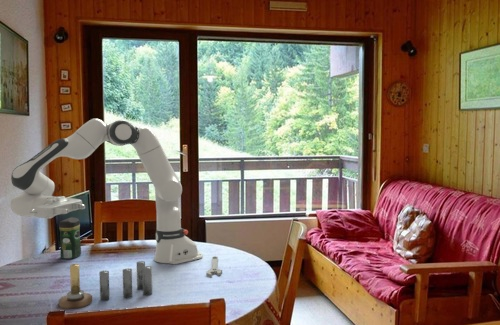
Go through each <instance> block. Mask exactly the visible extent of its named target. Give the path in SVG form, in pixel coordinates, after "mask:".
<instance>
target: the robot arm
mask: <svg viewBox="0 0 500 325" xmlns="http://www.w3.org/2000/svg"><path fill="white" fill-rule="evenodd" d="M105 142H107V143H109V144H111V145H113V146H117V147H118V146H119V147H123V146H126V145H130V146H132V147H133V148H134V150H135V152H136V154H137V156H138V157H139V159H140V161H141V163H142V166H143V168H144V170H145V171H146V173H147V176H148V177H149V179H150V181H151V183H152V185H153V187H154V193H155V210H156V212H155V213H156V228H155V241H156V246H155V247H156V248H155V254H154V256H153V260H154V262H156V263H159V264H160V263H161V264H170V265H171V264H172V265H178V264H182V263H188V262H192V261H196V260H200V259H203V254H202V252H201V251H199V250H198V247H197V244H196V243H195V241H193V240H192V239H190V237H188V236H186V235H188V234H189V231H188V229H185V228H182V220H181V219H182V217H181V215H182V214H181V212H182V211H181V204H180V197H181V196H182V193H183V186H182V184H181V181H180V179H179V177H178V175H177V173H176V172H175V170H174V168H173V167H172V164H171V163H170V161H169V159H168V157H167V155H166V152H165V151H164V149H163V147H162V145H161V142H160V141H159V139H158V138H157V136H156V134H155V133H154V132H153V130H152V129H151V128H150V127H148V126H139V127H137V126H135V125H134V124H132V122H130V121H127V120H125V119H119V120H115V121H113V122H111V123H109V124H108V123H105V121H103V120H102V119H99V118H90V120H88V121H86V122H85V123H84V124H83V125H81V126H80V127H79V128H78V129H77V130H75V131H74V132H73V133H72V134H71V135H69V136H68V137H66V138H58V139H56V140H54V141H53V142H51V143H50V144H48V145H47V146H46V147H44V148H43V149H42V150H41V151H39V152H38V153H37V154H35V155H34V156H33V157H31V158H30V159H28V160H27V161H25V162H23V163H21V164H20V165H18V166H16V167H15V168H14V169H13V170H12V172H11V175H10V176H11V177H10V178H11V179H10V180H11V184H12V186H13V187H15V188H17V189H19V190H21V191H23V192H21V193H20V194H18V195H16V196H13V197H12V198H11V200H10V205H9V206H10V209H11V211H12V212H13V213H14V214H15V215H17V216H20V217H26V218H27V217H28V218H34V217H35V218H37V219H49V220H50V219H52V218H54V217H55V216H58V215H67V214H69V213H70V212H73V211H74V212H75V211H77V210H85V209H86V204H83V200H82V199H79V198H72V197H66V196H64V195H60V196H54V193H55V189H56V185H55V182H54V181H53V180H52V179H50V178H49V177H48V176H47V175H45V174H44V173H42V172H41V170H42V169H43V168H45V167H46V166H47V165H49V164H50V163H51V162H52V161H54V160H55V159H57V158H60V157H66V158H70V159H73V160H85V159H87V158H88V157H90V156H92V154H93V153H94V152H95V151H96V150H97V149H98V148H99V146H100V145H102V144H103V143H105Z"/></svg>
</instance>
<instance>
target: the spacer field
mask: <svg viewBox="0 0 500 325" xmlns="http://www.w3.org/2000/svg"><path fill="white" fill-rule="evenodd" d="M152 273H153V272H152V266H149V265H147V266H146V261H142V260H141V261H140V260H139V261H137V262H136V289H137V290H142V293H143V294H142V295H143V296H151V295H153V280H152V278H153V277H152V276H153V274H152ZM98 274H99V300H100V301H102V302H106V301H109V300H110V298H111V297H110V271H109V270H101V271H99V273H98ZM122 297H123V299H131V298H132V297H133V270H132V268H129V267H128V268H123V269H122Z"/></svg>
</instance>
